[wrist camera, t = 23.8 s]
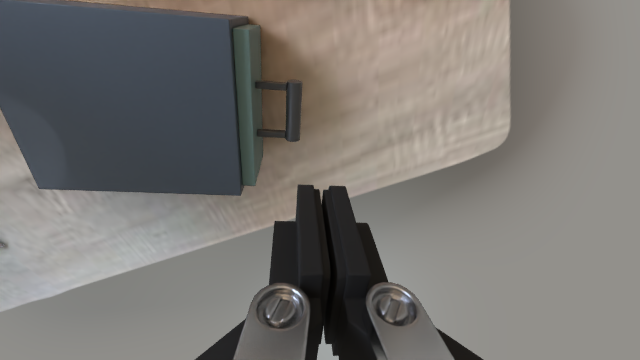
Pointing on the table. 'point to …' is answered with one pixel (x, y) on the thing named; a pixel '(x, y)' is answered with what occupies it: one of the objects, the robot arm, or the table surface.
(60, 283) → the table surface
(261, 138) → the drawer
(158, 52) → the cabinet
